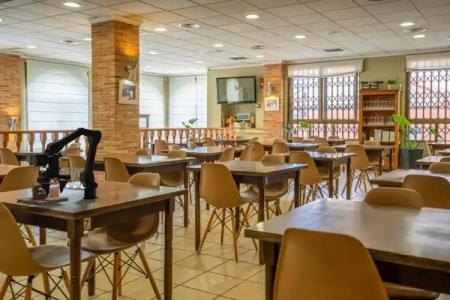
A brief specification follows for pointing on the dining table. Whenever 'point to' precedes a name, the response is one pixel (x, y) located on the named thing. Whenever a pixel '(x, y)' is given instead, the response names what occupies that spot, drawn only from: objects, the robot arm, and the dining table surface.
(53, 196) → the pin
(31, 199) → the eye board
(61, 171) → the goblet set
